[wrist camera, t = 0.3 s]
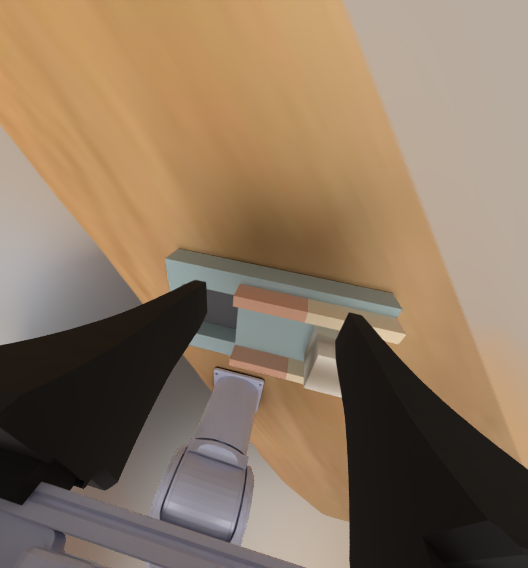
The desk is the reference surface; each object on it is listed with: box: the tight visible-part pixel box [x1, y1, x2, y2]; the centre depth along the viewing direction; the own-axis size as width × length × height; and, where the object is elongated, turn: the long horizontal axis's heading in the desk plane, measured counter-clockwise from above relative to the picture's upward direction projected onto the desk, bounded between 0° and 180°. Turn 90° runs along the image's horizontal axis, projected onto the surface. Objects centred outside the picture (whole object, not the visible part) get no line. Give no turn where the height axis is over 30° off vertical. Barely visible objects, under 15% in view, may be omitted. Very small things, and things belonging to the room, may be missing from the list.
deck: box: [165, 249, 406, 384], centre depth 22 cm, size 12×22×4 cm, turn 82°
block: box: [304, 325, 342, 398], centre depth 19 cm, size 5×5×4 cm
